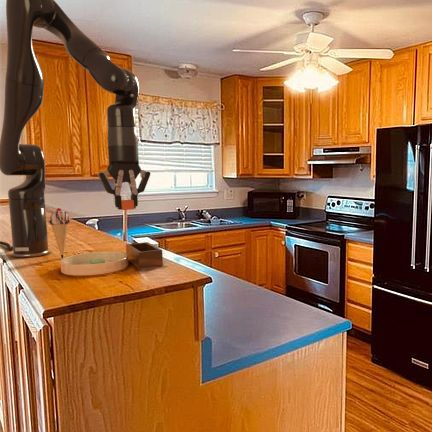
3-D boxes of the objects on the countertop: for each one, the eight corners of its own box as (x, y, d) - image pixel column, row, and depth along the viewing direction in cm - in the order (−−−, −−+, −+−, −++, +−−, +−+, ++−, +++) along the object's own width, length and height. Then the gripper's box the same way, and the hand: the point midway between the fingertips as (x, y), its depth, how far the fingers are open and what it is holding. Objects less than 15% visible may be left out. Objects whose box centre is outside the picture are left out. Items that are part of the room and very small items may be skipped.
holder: (126, 260, 120) (125, 244, 120) (148, 258, 124) (147, 242, 123) (139, 270, 109) (138, 252, 109) (163, 267, 113) (162, 249, 112)
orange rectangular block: (119, 208, 116) (118, 200, 116) (130, 208, 118) (130, 199, 118) (122, 210, 113) (122, 201, 113) (134, 209, 115) (133, 200, 114)
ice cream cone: (78, 258, 124) (74, 207, 122) (61, 262, 118) (58, 209, 117) (62, 257, 126) (59, 206, 124) (46, 261, 120) (42, 208, 118)
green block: (90, 268, 110) (89, 259, 109) (102, 267, 111) (102, 258, 111) (92, 271, 106) (92, 262, 106) (105, 270, 108) (105, 260, 108)
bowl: (57, 267, 114) (56, 256, 113) (120, 259, 123) (120, 249, 122) (65, 280, 100) (64, 268, 100) (135, 270, 109) (134, 259, 109)
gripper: (145, 145, 120) (149, 206, 122) (92, 144, 113) (96, 209, 115) (153, 144, 114) (156, 208, 116) (97, 143, 106) (101, 211, 108)
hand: (126, 208), depth 115 cm, fingers closed on orange rectangular block, 3 cm apart
